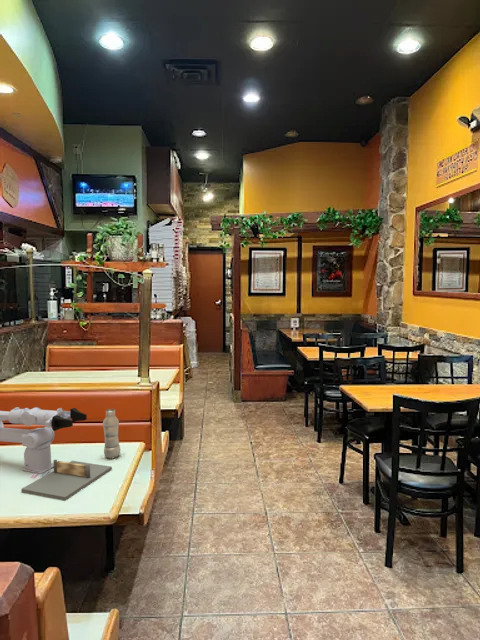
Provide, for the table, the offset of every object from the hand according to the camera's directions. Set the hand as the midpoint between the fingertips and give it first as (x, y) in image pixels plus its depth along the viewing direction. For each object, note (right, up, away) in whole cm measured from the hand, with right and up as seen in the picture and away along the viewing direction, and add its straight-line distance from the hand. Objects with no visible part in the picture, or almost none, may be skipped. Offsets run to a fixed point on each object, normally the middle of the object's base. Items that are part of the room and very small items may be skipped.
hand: (79, 420), depth 157 cm
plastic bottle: (+7, -20, +18) cm, 28 cm away
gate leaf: (-3, -20, -1) cm, 20 cm away
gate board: (-3, -22, -3) cm, 22 cm away
